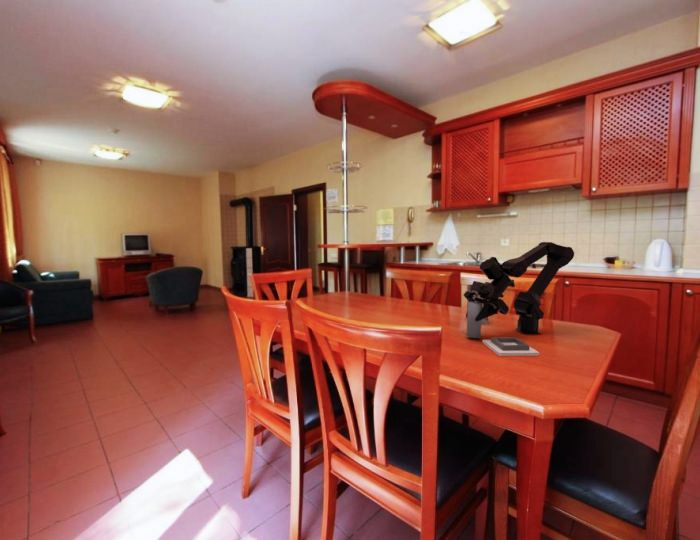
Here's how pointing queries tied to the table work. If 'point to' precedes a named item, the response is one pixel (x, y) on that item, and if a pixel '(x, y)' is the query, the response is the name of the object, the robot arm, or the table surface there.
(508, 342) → the seat board
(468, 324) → the slate post
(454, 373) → the table surface
